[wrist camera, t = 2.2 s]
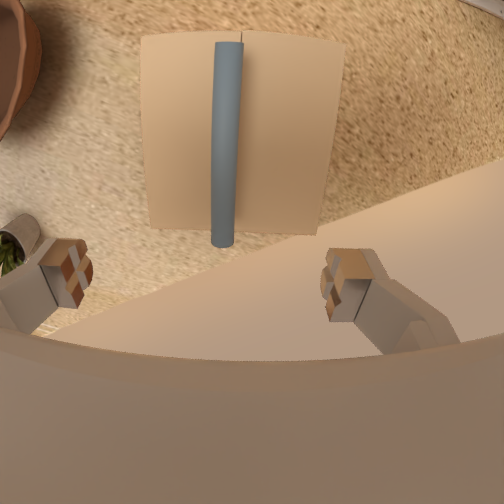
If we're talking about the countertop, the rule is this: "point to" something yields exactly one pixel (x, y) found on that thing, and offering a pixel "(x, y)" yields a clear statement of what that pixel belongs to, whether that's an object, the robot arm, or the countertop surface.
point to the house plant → (17, 242)
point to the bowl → (16, 60)
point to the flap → (191, 130)
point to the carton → (285, 130)
